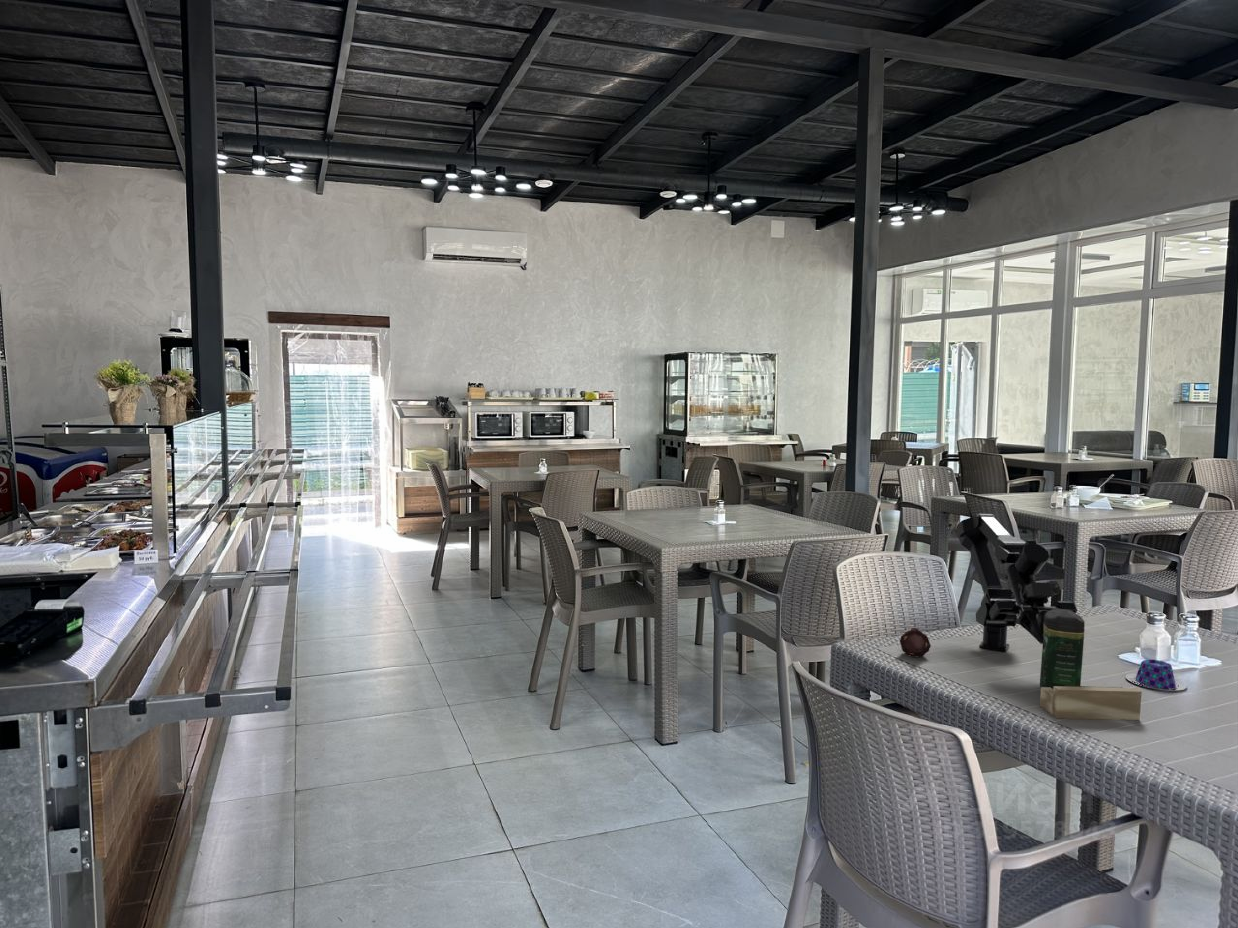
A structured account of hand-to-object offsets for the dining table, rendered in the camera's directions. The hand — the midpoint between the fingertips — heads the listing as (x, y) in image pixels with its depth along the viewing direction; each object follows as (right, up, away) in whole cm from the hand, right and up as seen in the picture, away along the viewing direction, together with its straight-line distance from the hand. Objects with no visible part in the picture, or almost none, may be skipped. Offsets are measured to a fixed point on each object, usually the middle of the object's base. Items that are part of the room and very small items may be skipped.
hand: (1043, 642), depth 194 cm
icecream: (-24, -7, +17) cm, 31 cm away
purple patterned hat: (+26, -10, 0) cm, 28 cm away
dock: (0, -10, -20) cm, 22 cm away
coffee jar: (0, -10, -8) cm, 12 cm away
